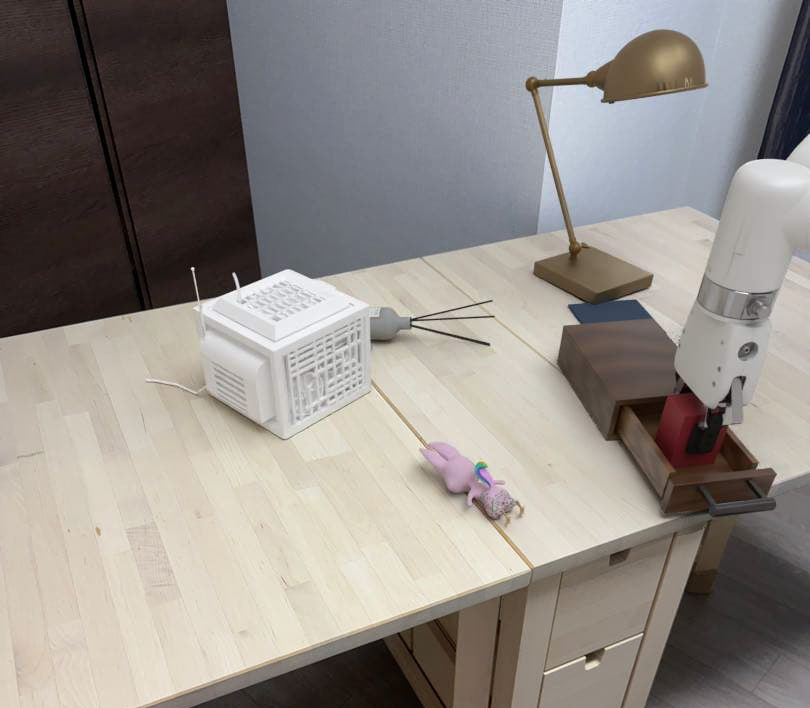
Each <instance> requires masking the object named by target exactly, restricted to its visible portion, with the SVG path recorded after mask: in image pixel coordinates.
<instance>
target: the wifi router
mask: <svg viewBox="0 0 810 708" xmlns="http://www.w3.org/2000/svg"><path fill="white" fill-rule="evenodd" d="M190 270H191V271H192V276H193V282H194V287H195V292H196V297H197V302H198V303H197V304H198V305H195V306H193V307H192V313H193V316H194V322H195V326H196V333H197V338H198V342H199V344H198V346H199V349H198V350H199V356H200V360H201V361H200V362H201V366H202V371H203V376H204V381H205V385H204V386H203V387H202V388H200V389H199V390H198V391H195V390H193V389H190V388H188V387H186V386H184V385H182V384H180V383H176V382H170V381H165V380H161V379H156V378H155V379H154V378H152V379H150V378H146V381H145V382H148V383H159V384H164V385H169V386H174V387H177V388H179V389H183V390H184V391H187V392H189V393H191V394H193V395H195V396H198V395H199V394H201V393H202V392H203V391H205V390H207V392H209V395H210V396H212V397H213V398H215V399H217V400H218V401H220V402H221V403H223V404H224V405H226V406H228V407H229V408H232V410H235V411H236V412H238V413H240V414H241V415H243V416H244V417H246V418H248V419H249V420H250V421H253V422H254V423H256V424H258V425H259V426H261V428H264V429H265V430H267V431H269V432H271V433H272V434H274V435H275V436H277V437H279V438H280V439H282V440H287V439H289V438H291V437H293V436H294V435H296V434H298V433H299V432H301V431H303V430H304V429H306V428H308V427H311V426H312V425H314V424H315V423H317V422H320V421H321V420H322V419H324V418H326V417H327V416H330V415H331V414H333V413H335V412H336V411H338V410H340V409H342V408H343V407H345V406H347V405H348V404H350V403H352V402H354V401H356V400H357V399H359V398H361V397H363V396H365V395H366V394H368V393H370V392H371V391H372V358H371V357H372V354H371V353H372V351H371V350H370V342H371V339H370V308H371V304H369V303H367V302H364V301H362V300H360V299H358V298H355V297H353V296H351V295H348V294H346V293H344V292H342V291H340V290H337V287H336V286H333V285H332V284H329V283H328V282H325V281H323V280H321V279H312V278H310V277H308V276H305V275H304V274H301V273H299V272H296V271H295V270H292V269H288V268H287V269H284V270H282V271H279V272H277V273H273V274H272V275H269V276H267V277H264V278H262V279H260V280H257V281H254V282H252V283H250V284H247V285H245V286H241V287H240V282H239V279H238V277H237V275H236V272H232V277H233V280H234V283H235V286H236V289H235V290H233V291H230V292H228V293H225V294H223V295H220V296H218V297H215V298H213V299H210V300H207V301H206V302H202V303H201V302H200V296H199V292H198V285H197V280H196V275H195V267H193V266H192V267H191V268H190Z"/></svg>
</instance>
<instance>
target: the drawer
mask: <svg viewBox="0 0 810 708" xmlns="http://www.w3.org/2000/svg"><path fill="white" fill-rule="evenodd" d="M665 403H666V401H660V402H650V403H640V404H629V405H620V409H619V413H618V417H617V421H616V425H615V429H616V430H617V432H618V433H619V435H620V436H621V438H622V439H621V440H622V441H623V443H624V445H626V447H627V449H628V450H629V452H630V453H631V454H632V457H633V458H634V459H635V460H636V462H637V464H638V466H639V467H640V468H641V469H642V471H643V472H644V473H643V474H645V476H646V478H648V480H649V482H650V483H651V485H652V486H653V488H654V490H655V491H656V492H657V494H658V495H659V497H660V498H661V499H662V501H661V504H660V507H659V509H660V510H661V512H662V513H663V515H673V514H679V513H681V514H682V513H689V512H697V511H698V512H699V511H704V510H708V512H709V516H710V517H711V518H719V517H721V518H722V517H728V516H737V515H747V514H753V513H761V512H769V511H770V512H771V511H774V510H776V508H777V500H776V499H775V498H774V497H773V496H771V497H768V495H769V492H770V490H771V488H772V486H773V484H774V481H775V479H776V477H777V474H778V473H777V471H775V470H774V469H773V468H772V467H765V468H758V466H759V463H760V461H759V460H758V459H757V457H755V456H754V454H753V453H752V452H751V451H750V450H749V448H747V446H746V445H745V444H744V443H743V442H742V441H741V440H740V438H739V437H738V436H737V435H736V434H735V432H734V431H733V429H731V427H729V426H728V428H727V431H726V434H725V436H724V439H723V442H722V444H721V447H720V450H719V452H718V455H717V458H716V460H715V463H714V464H706V465H697V466H688V467H679V468H673V467H672V466H671V464H670V463H669V461H668V460H667V459H666V457H665V456H664V454H663V453H662V452H661V450H660V449H659V447H658V446H657V445H656V443H655V442H654V440H655V437H656V433H657V430H658V427H659V423H660V420H661V417H662V413H663V410H664V407H665Z"/></svg>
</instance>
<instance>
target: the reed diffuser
mask: <svg viewBox="0 0 810 708" xmlns="http://www.w3.org/2000/svg"><path fill="white" fill-rule="evenodd" d="M493 301H494V300H493V299H489V300H485V301H481V302H477V303H471V304H468V305H464V306H460V307H456V308H455V307H454V308H451V309H447V310H443V311H439V312H434V313H430V314H425V315H420V316H416V317H413V318H412V316H400V315H399V314H398V313H397V312H396V310H395V309H394V308H393V307H390V306H379V307H378V306H377V307H376V306H375V307H370V340H392V339H394V338H395V337H396V336H397V334H398V333H399V331H410V330H412V329H413V328H414V329H417V330H418V329H419V330H422V331H426V332H430V333H434V334H439V335H442V336H446V337H451V338H454V339H459V340H462V341H467V342H471V343H475V344H480V345H483V346H486V347H491V342H486V341H483V340H479V339H474V338H470V337H466V336H462V335H459V334H454V333H451V332H450V333H449V332H445V331H441V330H436V329H434V328H433V329H432V328H430V327H429V328H428V327H424V326H420V325H416V324H413V322H429V321H451V320H468V319H469V320H470V319H471V320H472V319H490V318H496V315H478V316H460V317H459V316H457V317H440V318H428V317H433V316H437V315H441V314H447V313H450V312H454V311H459V310H463V309H467V308H471V307H475V306H480V305H484V304H488V303H493ZM370 350H371V352H372V351H373V344H372V342H371V341H370Z"/></svg>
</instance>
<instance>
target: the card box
mask: <svg viewBox="0 0 810 708" xmlns="http://www.w3.org/2000/svg"><path fill="white" fill-rule="evenodd" d="M701 407H702V401H701V400H700V399H699V398H698V397H697V396H696V394H695V393H684V394H673V395H668V397H667V400H666V403H665V407H664V410H663V413H662V417H661V420H660V423H659V427H658V430H657V433H656V437H655V440H654V442H655V443H656V445H657V446H658V447H659V449H660V450H661V452H662V453H663V454H664V456H665V457H666V459H667V460H668V461H669V463H670V464H671V466H672V467H673V468H679V467H688V466H697V465H706V464H714V463H715V460H716V458H717V455H718V452H719V450H720V447H721V444H722V442H723V439H724V436H725V434H726V431H727V428H728V427H729V426H730V425H727V426H726V427H722V428H721V430H720V432H719V435H718V438H717V440H716V443H715V446H714V449H713V451H712V452H710V453H703V454H693V455H688V454H687V452H686V448H687V445H688V442H689V439H690V436H691V433H692V430H693V427H694V424H699V419H700V413H701ZM718 412H719V408H715V409H712V410H711V415H710V417H711V416H714V415H718Z"/></svg>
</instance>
